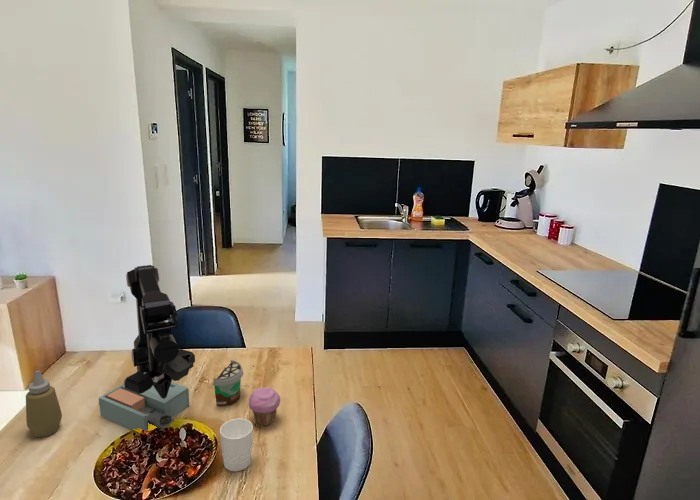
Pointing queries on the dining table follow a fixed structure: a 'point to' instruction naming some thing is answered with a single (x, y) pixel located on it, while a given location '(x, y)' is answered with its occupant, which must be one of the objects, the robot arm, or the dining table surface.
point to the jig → (135, 419)
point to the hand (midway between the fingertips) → (163, 397)
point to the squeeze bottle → (42, 407)
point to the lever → (156, 417)
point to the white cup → (236, 444)
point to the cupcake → (264, 404)
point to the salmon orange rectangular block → (127, 399)
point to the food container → (228, 385)
